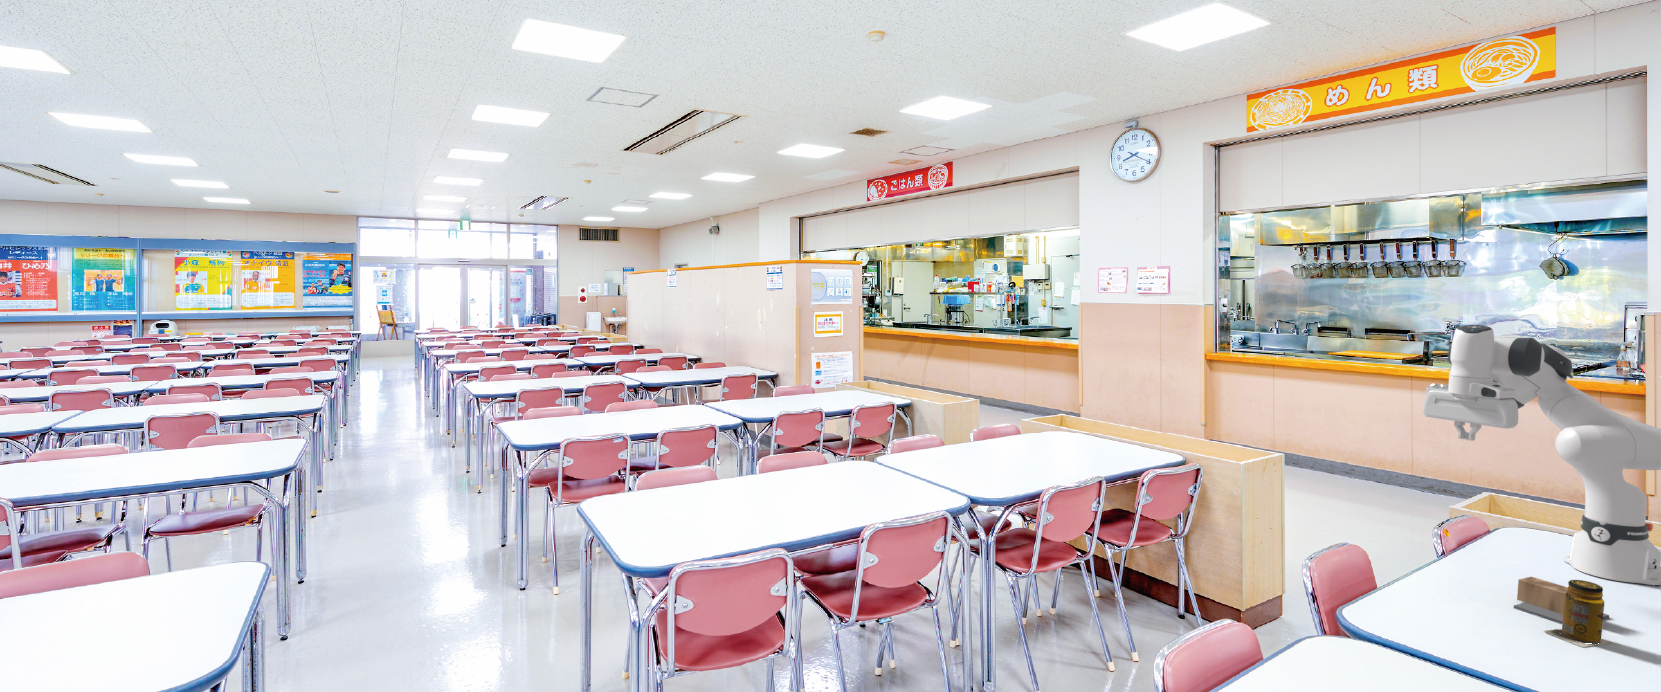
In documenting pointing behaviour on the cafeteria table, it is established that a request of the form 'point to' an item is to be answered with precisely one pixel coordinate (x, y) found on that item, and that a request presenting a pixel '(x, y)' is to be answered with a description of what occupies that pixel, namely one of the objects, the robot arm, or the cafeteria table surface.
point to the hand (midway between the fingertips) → (1466, 439)
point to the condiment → (1582, 614)
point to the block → (1542, 594)
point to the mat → (1543, 612)
